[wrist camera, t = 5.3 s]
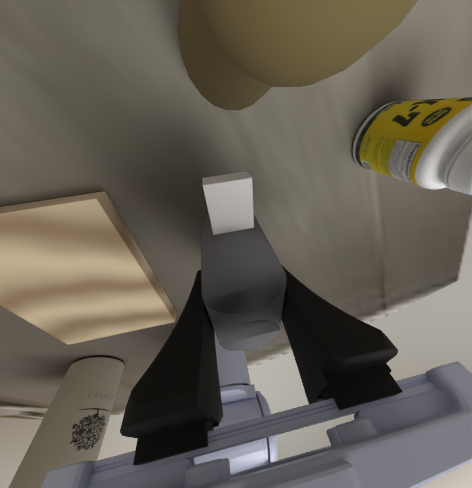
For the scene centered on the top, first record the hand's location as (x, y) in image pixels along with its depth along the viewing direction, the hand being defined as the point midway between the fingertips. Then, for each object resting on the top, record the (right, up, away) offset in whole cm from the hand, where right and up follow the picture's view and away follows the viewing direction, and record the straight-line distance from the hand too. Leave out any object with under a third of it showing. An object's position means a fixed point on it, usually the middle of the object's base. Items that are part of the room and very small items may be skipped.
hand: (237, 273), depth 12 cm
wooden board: (-16, -2, +6) cm, 18 cm away
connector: (0, +2, +1) cm, 2 cm away
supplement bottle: (+12, +11, +3) cm, 17 cm away
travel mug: (-24, -19, +18) cm, 36 cm away
